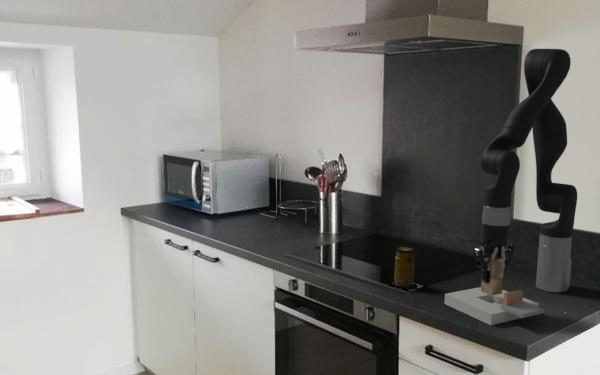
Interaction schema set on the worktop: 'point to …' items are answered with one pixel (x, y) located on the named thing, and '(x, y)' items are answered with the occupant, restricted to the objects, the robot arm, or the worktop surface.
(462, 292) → the socket plate
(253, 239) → the worktop surface
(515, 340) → the worktop surface
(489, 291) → the peg
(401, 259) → the condiment
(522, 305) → the brown block on tile
